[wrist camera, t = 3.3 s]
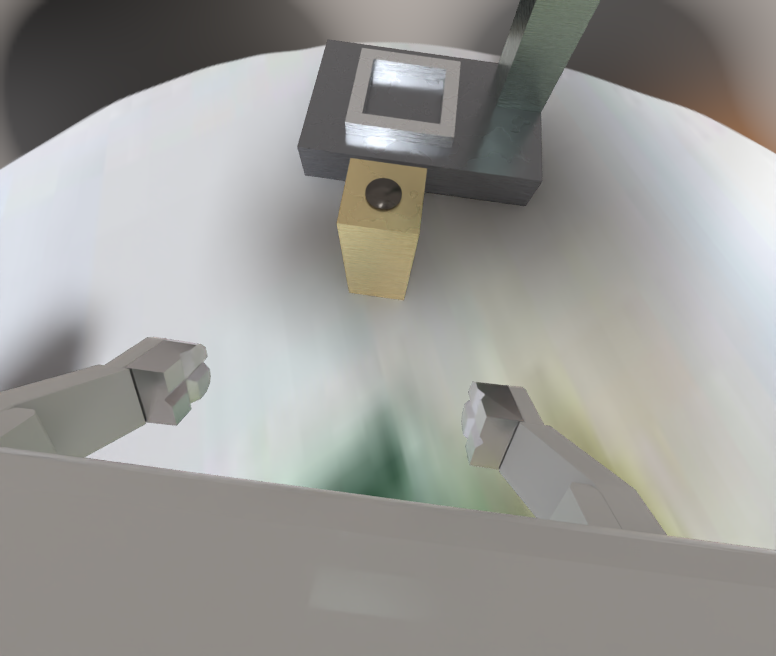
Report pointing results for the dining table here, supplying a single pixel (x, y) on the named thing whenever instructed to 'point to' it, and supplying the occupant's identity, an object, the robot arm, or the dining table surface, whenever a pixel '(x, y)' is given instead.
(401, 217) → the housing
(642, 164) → the dining table surface
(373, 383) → the dining table surface
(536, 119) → the press
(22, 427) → the robot arm
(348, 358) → the dining table surface
